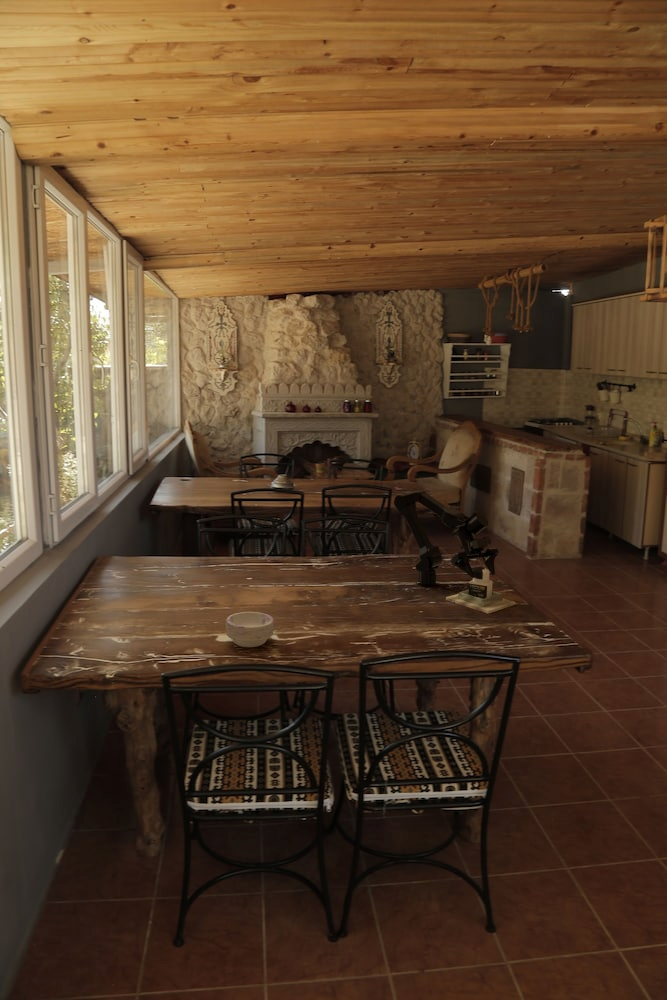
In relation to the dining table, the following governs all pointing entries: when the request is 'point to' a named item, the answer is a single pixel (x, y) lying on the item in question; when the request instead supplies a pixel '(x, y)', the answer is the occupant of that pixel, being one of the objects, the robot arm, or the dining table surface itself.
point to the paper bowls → (249, 628)
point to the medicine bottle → (480, 584)
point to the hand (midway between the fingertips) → (483, 576)
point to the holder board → (481, 601)
